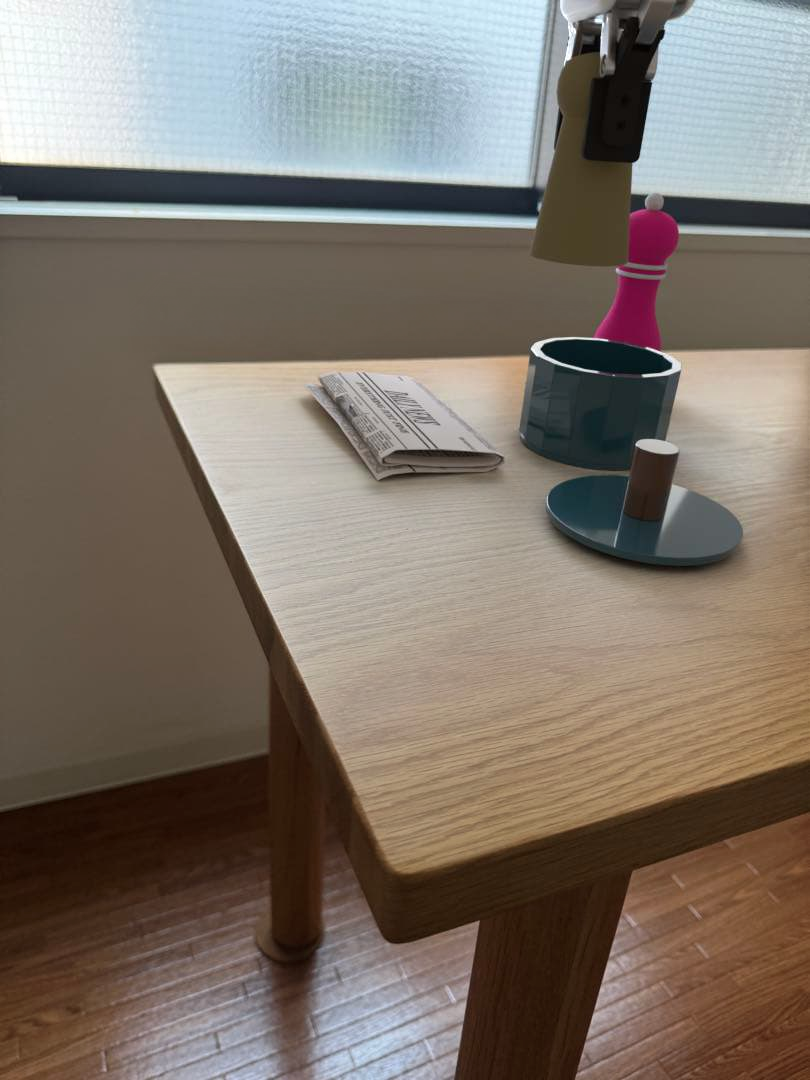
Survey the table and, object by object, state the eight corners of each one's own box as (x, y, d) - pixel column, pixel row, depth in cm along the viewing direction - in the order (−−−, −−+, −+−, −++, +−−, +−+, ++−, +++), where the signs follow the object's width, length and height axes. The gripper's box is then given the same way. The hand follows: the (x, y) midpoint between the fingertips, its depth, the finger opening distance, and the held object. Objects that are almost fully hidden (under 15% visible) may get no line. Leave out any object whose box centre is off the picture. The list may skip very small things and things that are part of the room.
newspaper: (298, 391, 84) (301, 366, 83) (414, 400, 88) (418, 376, 87) (360, 479, 64) (365, 448, 63) (504, 485, 69) (511, 456, 68)
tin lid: (693, 491, 68) (712, 417, 65) (774, 576, 56) (801, 489, 53) (526, 486, 66) (537, 409, 64) (572, 571, 54) (588, 482, 52)
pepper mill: (593, 376, 97) (628, 187, 87) (657, 389, 94) (699, 195, 85) (576, 391, 91) (611, 190, 82) (643, 405, 88) (687, 198, 79)
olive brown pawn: (568, 247, 56) (595, 57, 51) (646, 262, 53) (684, 58, 48) (509, 252, 53) (532, 48, 48) (589, 269, 49) (623, 48, 44)
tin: (634, 423, 83) (651, 341, 79) (683, 473, 71) (705, 380, 68) (507, 417, 81) (518, 333, 78) (537, 467, 70) (551, 372, 66)
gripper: (816, -310, 35) (715, 173, 43) (662, -186, 50) (609, 153, 58) (639, -334, 34) (571, 164, 42) (537, -200, 49) (501, 146, 57)
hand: (593, 154), depth 50 cm, fingers closed on olive brown pawn, 5 cm apart
